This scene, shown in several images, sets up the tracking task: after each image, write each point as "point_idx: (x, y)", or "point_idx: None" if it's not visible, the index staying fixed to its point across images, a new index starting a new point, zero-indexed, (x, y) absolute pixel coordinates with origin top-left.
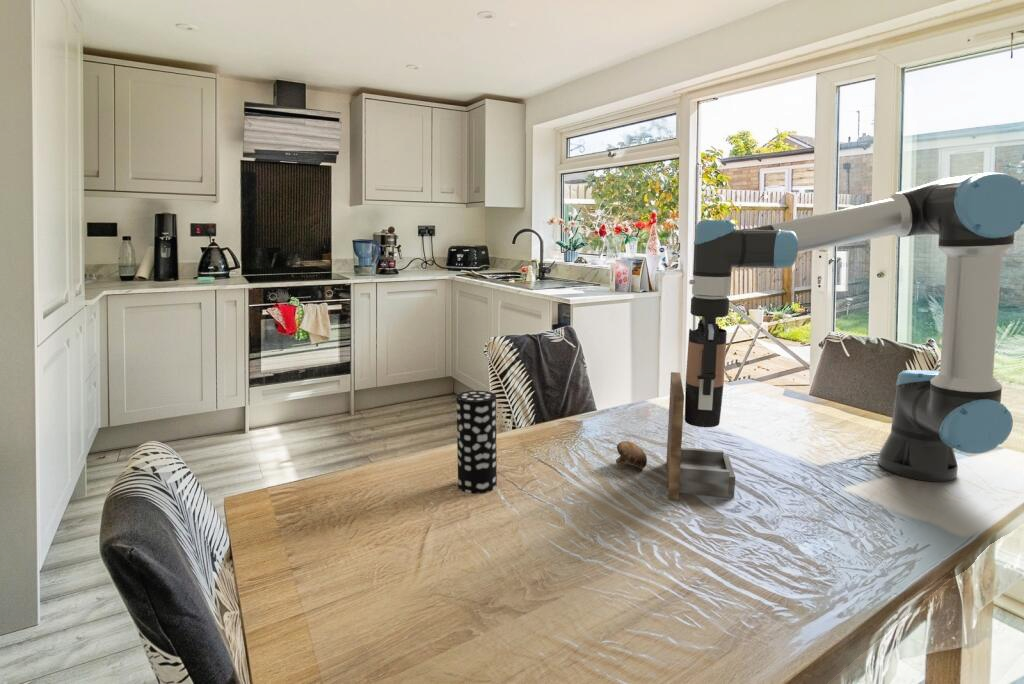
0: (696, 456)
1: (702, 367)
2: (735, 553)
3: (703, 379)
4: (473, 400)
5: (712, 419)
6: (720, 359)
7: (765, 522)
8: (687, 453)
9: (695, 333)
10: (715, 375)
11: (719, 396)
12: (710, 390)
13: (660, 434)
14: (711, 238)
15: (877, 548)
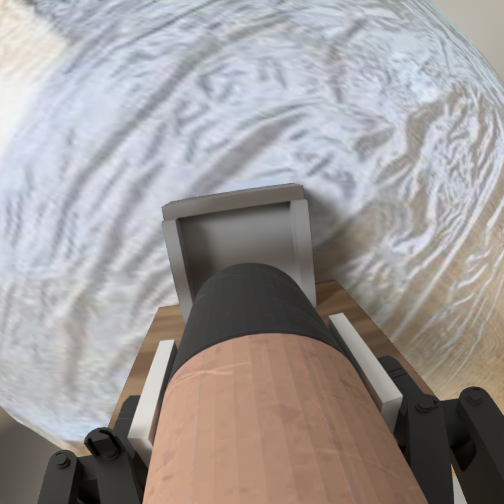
0: (189, 278)
1: (456, 472)
2: (461, 188)
3: (391, 431)
4: None
5: (303, 292)
6: (409, 485)
7: (373, 133)
8: (193, 299)
9: None
10: (481, 396)
11: (308, 316)
12: (398, 368)
13: (37, 340)
14: None
15: (386, 5)
